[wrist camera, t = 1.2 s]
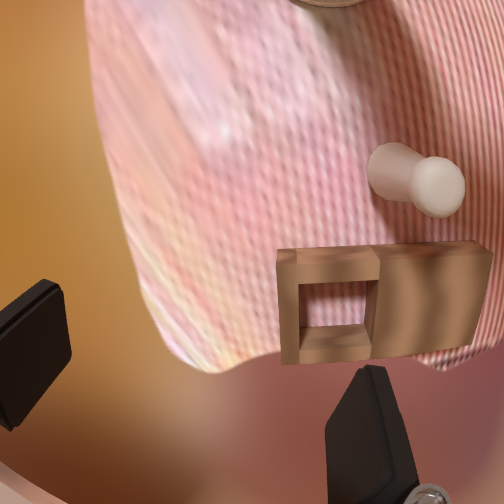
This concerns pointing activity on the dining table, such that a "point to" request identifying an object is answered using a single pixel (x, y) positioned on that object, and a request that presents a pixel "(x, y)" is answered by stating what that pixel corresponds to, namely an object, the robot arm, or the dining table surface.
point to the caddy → (385, 299)
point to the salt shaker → (416, 179)
